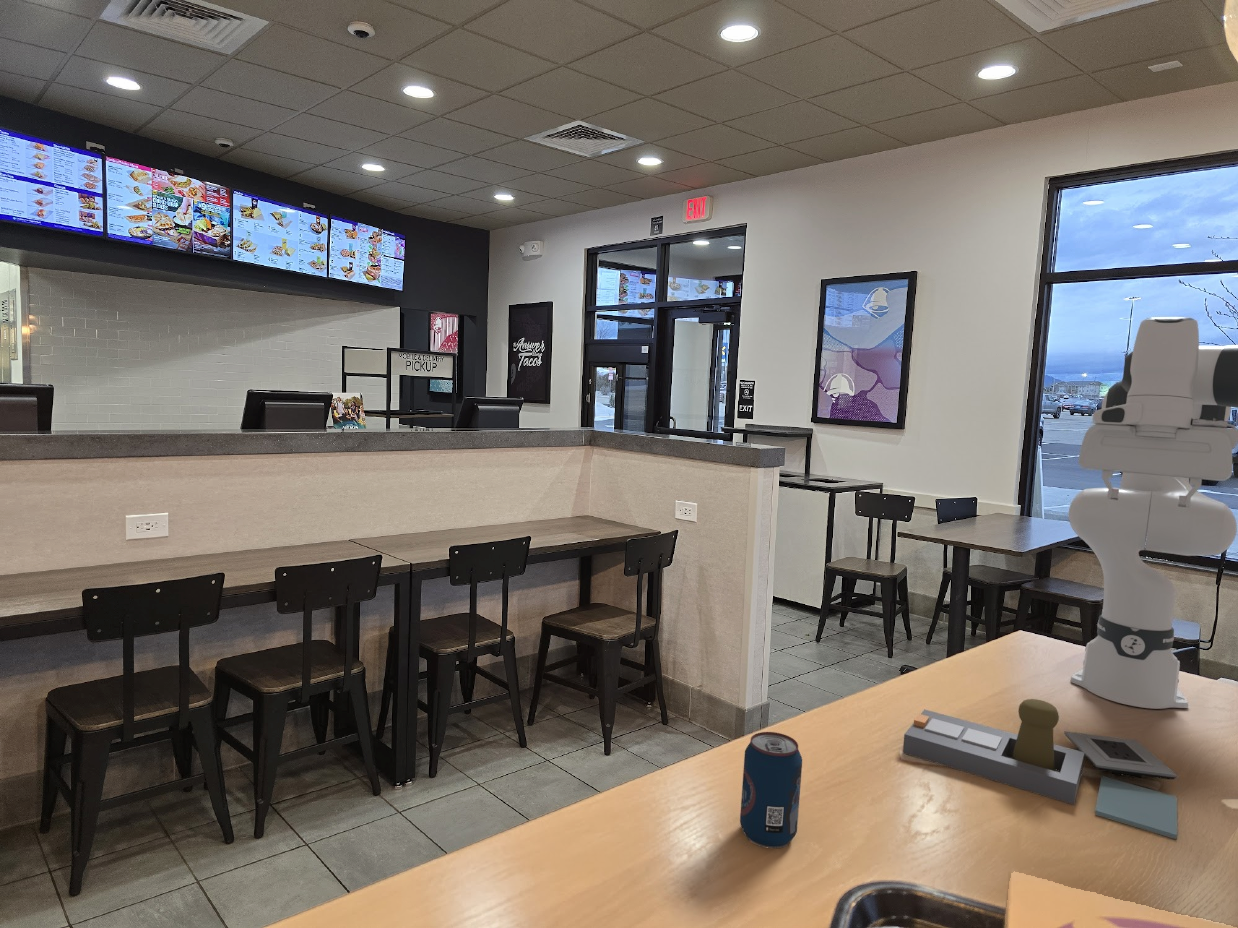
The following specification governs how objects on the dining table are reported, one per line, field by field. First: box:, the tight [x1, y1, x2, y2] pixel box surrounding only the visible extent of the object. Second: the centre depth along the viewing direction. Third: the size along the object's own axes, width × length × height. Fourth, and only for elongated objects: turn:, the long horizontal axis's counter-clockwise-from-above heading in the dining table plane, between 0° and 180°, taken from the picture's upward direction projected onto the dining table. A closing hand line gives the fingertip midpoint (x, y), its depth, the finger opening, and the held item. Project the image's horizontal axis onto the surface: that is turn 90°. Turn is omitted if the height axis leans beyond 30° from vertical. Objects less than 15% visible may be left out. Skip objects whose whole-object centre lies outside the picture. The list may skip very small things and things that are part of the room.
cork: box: [1011, 698, 1060, 771], centre depth 115 cm, size 6×6×11 cm
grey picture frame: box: [1063, 730, 1178, 780], centre depth 119 cm, size 13×10×2 cm
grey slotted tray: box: [902, 709, 1085, 806], centre depth 119 cm, size 12×23×4 cm, turn 55°
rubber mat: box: [1094, 775, 1178, 840], centre depth 108 cm, size 12×9×1 cm
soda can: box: [739, 731, 803, 849], centre depth 96 cm, size 7×7×12 cm
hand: (1147, 503), depth 125 cm, fingers open, 8 cm apart
